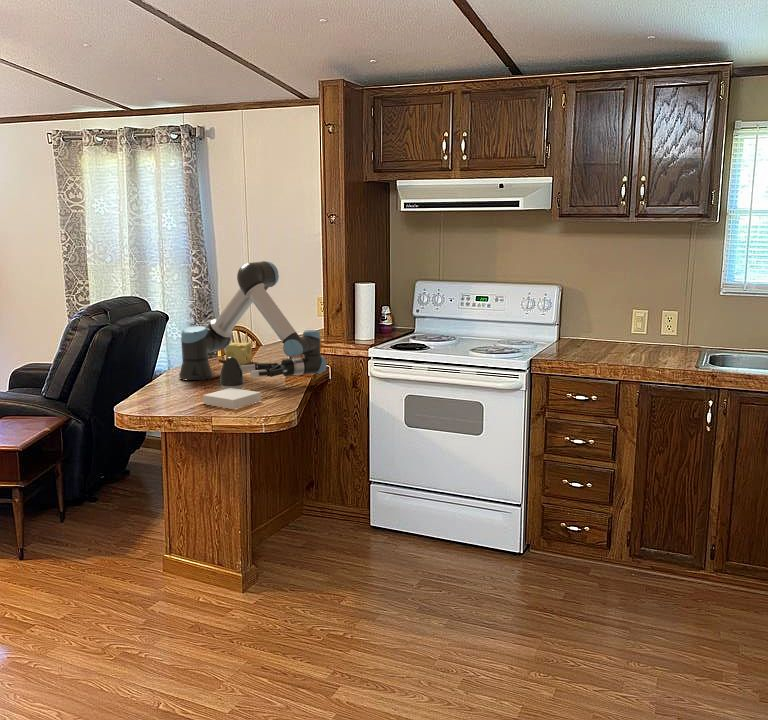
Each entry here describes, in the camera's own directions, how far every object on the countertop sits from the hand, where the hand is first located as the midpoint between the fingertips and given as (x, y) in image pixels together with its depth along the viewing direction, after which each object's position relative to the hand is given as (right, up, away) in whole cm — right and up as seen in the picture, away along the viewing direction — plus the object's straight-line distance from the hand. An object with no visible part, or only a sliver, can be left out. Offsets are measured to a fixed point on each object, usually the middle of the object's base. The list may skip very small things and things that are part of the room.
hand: (245, 371), depth 343 cm
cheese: (-15, +3, +66) cm, 68 cm away
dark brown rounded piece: (-6, -9, -1) cm, 11 cm away
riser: (-1, -13, -22) cm, 25 cm away
